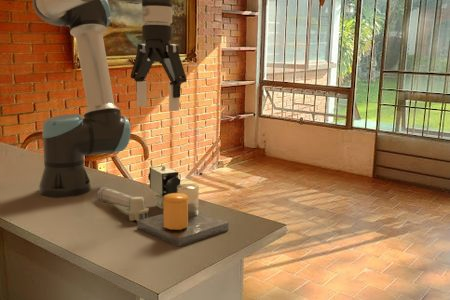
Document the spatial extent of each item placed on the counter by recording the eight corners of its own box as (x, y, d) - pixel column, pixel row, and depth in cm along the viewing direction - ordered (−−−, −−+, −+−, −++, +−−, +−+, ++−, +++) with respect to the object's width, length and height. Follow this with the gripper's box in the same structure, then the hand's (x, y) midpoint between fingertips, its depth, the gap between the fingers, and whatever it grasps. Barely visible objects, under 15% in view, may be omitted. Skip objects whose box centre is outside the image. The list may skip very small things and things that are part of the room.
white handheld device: (109, 185, 147) (151, 193, 127) (111, 207, 148) (153, 218, 128) (93, 187, 144) (133, 196, 124) (95, 210, 145) (135, 222, 125)
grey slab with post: (137, 228, 123) (137, 192, 121) (186, 214, 134) (186, 181, 132) (179, 246, 112) (179, 207, 110) (228, 229, 123) (229, 194, 121)
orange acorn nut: (159, 225, 118) (159, 196, 117) (177, 219, 122) (177, 191, 120) (174, 231, 114) (174, 201, 113) (192, 225, 118) (192, 196, 117)
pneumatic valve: (165, 214, 134) (165, 171, 131) (147, 202, 143) (147, 162, 141) (183, 211, 137) (183, 169, 134) (164, 200, 146) (165, 160, 144)
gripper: (116, 24, 130) (118, 104, 135) (177, 22, 113) (177, 114, 118) (139, 26, 136) (140, 103, 140) (201, 24, 119) (200, 111, 123)
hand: (157, 108), depth 129 cm, fingers open, 13 cm apart
